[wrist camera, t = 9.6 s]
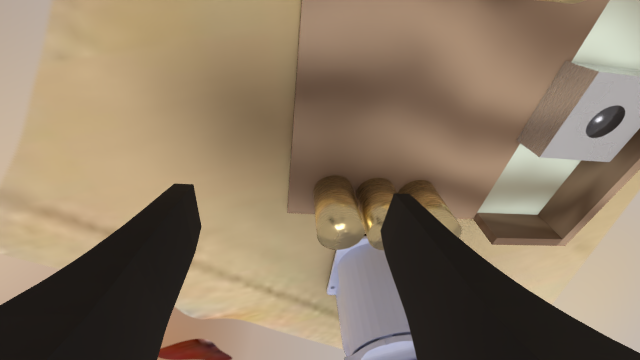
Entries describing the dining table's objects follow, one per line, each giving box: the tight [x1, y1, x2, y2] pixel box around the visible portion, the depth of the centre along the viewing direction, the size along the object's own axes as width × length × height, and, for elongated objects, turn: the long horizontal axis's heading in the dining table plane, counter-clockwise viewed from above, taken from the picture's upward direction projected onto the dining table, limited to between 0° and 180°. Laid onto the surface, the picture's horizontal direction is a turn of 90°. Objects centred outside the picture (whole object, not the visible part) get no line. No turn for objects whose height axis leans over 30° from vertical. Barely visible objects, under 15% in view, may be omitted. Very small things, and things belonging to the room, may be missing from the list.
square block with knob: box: [517, 61, 640, 162], centre depth 18 cm, size 6×6×2 cm
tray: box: [287, 0, 640, 246], centre depth 18 cm, size 20×24×4 cm
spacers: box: [313, 0, 585, 250], centre depth 16 cm, size 19×10×4 cm, turn 173°
